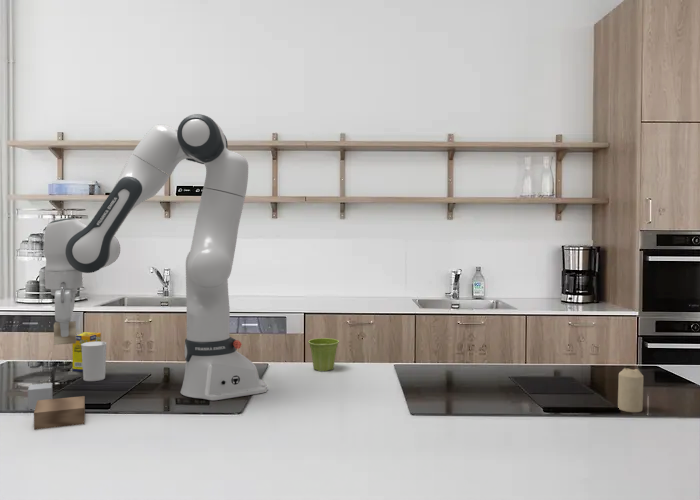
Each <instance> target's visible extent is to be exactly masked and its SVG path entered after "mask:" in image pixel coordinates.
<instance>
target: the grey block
mask: <svg viewBox="0 0 700 500" xmlns="http://www.w3.org/2000/svg"><path fill="white" fill-rule="evenodd" d="M48 399H54V398H53V383H52V382H47V383H35V384H29V386H28V389H27V411H31V410H30V409H35V407H36V404H37V400H48Z"/></svg>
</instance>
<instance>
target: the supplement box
mask: <svg viewBox="0 0 700 500" xmlns="http://www.w3.org/2000/svg"><path fill="white" fill-rule="evenodd" d="M101 338H102V332H89V331H88V332H87V331H84V332H82V333H81V332H80V333H76V343H73V344H72V349H71V350H72V353H71V354H72V355H71V356H72V372H79V373H83V363H82V347H81V344H83V343H86V342H102V339H101Z"/></svg>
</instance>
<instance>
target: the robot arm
mask: <svg viewBox="0 0 700 500" xmlns="http://www.w3.org/2000/svg"><path fill="white" fill-rule="evenodd" d="M228 146H229V145H228V140H227V137H226V135H225V133H224V131H223V129H222V128H221V127H220V126H219V124H218V123H216V122H215V120H214V119H212V118H211V117H210V116H207V115H205V114H200V113H194V114H190V115H188V116H186V117H185V118H183V119H182V120H181V122H180V123H179V125H178V127H177V129H175V128H174V127H172V126H170V125H166V124H156V125H153V126H152V127H151V128H150V129H149V131H147V133H146V134H144V136H143V137H142V139H140V141H139V142H138V144H137V145H136V146H135V148H134V149H133V150H132V153H131V154H130V156H128V159H127V161H126V163H125V165H124V166H123V168H122V171H121V172H120V174H119V176H118V179H117V180H116V182H115V184H114V186H113V188H112V190H111V192H110V193H109V195H108V196H107V197H106V199H105V200H104V202H103V204H101V206H100V208H99V209H98V210H97V212H96V214H95V215H94V217H93V218H92V219H91V221H90V222H89V223H88V224H85V223H83V222H81V221H80V220H79V219H78V218H74V217H69V218H62V219H61V218H60V219H56V220H53V221H50V222H49V223H48V224H47V225H46V227H45V229H44V230H45V231H44V238H43V239H44V240H43V241H44V242H43V247H44V248H43V249H44V251H43V254H44V257H45V267H44V287H45V289H46V290H50V295H52V296H54V319H55V322H60V329H61V336H62V337H67V336H68V335H69V322H70V321H72V318H73V313H74V309H75V301H76V295H77V294H78V289H80V288H82V287H83V284H84V283H83V273H84V274H91V273H95V272H97V271H100V270H101V269H103V268H106V267H108V266H111V265H112V264H113V263H115V262H116V260H118V258H119V257H120V253H121V245H120V242H119V240H118V239H117V237H116V236H115V235H116V233H118V231H119V229H120V228H121V226H122V225H123V223H124V222H125V220H126V219H127V217H128V216H129V214H130V213H131V212H132V211H133V210H134V209H135V208H136V207H137V206H138V205H140V204H141V203H144V202H145V201H147V200H149V199H151V198H153V197H154V196H156V195H157V194H158V193H159V192H160V190H161V189H162V188H163V187H164V186H165V185H166V184H167V182H168V180H169V178H170V176H171V175H172V173H174V171H175V169H176V167H177V166H178V164H179V163H181V162H182V161H183V160H186V161H190V162H194V163H197V164H201V165H204V167H205V170H206V171H205V172H206V173H205V179H204V184H203V188H202V190H201V191H202V193H201V196H200V202H199V206H198V211H197V213H196V214H197V215H196V219H195V225H194V230H193V236H192V241H191V246H190V251H189V252H188V253H187V256H186V259H185V294H186V295H185V297H186V338H185V339H184V340H185V341H184V358H185V369H184V376H183V381H182V386H181V389H180V394H181V395H183V396H184V397H188V398H193V399H203V400H208V401H218V400H227V399H232V398H239V397H244V396H250V395H257V394H263V393H266V392H267V391H268V384H267V383H266V382H265V381H264V380H262V379H261V378H260V377H259V371H258V368H257V366H256V365H255V363H254V362H253V361H251V360H250V359H249V358H248V357H246V356H245V355H243V354H242V353H241V352H239V351H237V350H239V349H241V347H242V345H243V344H242V342H241V341H240V340H239V339H236V338H233V337H231V336H230V331H231V330H230V329H231V328H230V327H231V326H230V322H231V321H230V317H231V316H230V313H231V312H230V311H231V310H230V309H231V308H230V297H229V296H230V295H229V283H228V282H229V280H228V279H229V277H230V276H231V274H232V270H233V265H234V258H235V253H236V252H235V251H236V245H237V239H238V232H239V227H240V221H241V217H242V213H243V209H244V204H245V199H246V196H247V195H246V194H247V189H248V181H249V163H248V160H247V159H246V158H245V157H244V156H243V155H242V154H240V153H239V152H236V151H233V150H229V149H228Z"/></svg>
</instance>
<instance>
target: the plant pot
mask: <svg viewBox="0 0 700 500" xmlns="http://www.w3.org/2000/svg"><path fill="white" fill-rule="evenodd" d="M307 342H308V344H309V348H310V351H311V358H312V365H313V366H312V367H313V370H314V371H315V370H316V371H317V372H328V371H332V370H334V369H335V368H334V367H335V359H336V353H337V348H338V345H339V343H340V341H339V339H335V338H327V337H324V338H323V337H322V338H320V337H319V338H312V339H309V340H308V341H307Z"/></svg>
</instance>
